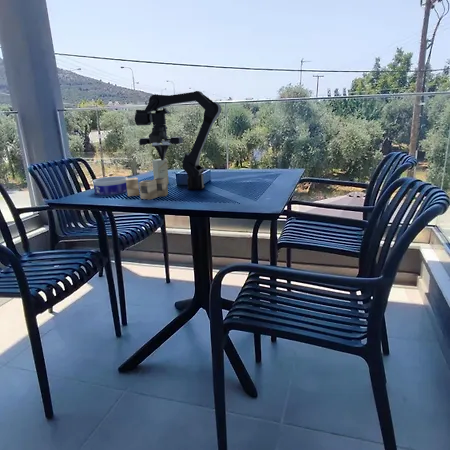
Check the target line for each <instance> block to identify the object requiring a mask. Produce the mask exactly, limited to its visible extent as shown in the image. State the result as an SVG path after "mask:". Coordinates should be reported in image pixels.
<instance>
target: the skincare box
mask: <svg viewBox="0 0 450 450" xmlns="http://www.w3.org/2000/svg"><path fill="white" fill-rule="evenodd" d="M151 162H152V163H151V164H152V173H153V179H155V178H167V185H168V184H170V180H169V168H168V159H167V158H164V160H161V158H158V159H153V160H152V159H151Z"/></svg>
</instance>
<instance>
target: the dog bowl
mask: <svg viewBox="0 0 450 450" xmlns="http://www.w3.org/2000/svg"><path fill="white" fill-rule="evenodd" d="M126 178H128V177H127V176H122V175H121V176H120V175H119V176H118V175H115V176H105V177H100V178H95V179H93V180H92V183H93V189H94V194H95V195H100V196H108V195H109V196H110V195H117V194H122V193H123V194H124V193H127V185H126Z"/></svg>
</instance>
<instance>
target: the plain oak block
mask: <svg viewBox="0 0 450 450" xmlns="http://www.w3.org/2000/svg"><path fill="white" fill-rule="evenodd" d="M126 185H127V191H126V193H127V197H133V196H134V197H136V196H140V188H139V179H138V177H127V178H126Z"/></svg>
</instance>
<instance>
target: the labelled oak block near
mask: <svg viewBox="0 0 450 450" xmlns="http://www.w3.org/2000/svg"><path fill="white" fill-rule="evenodd" d="M138 185H139V193H140V195H139V197H140V199H141V200H153V199H156V198H158V197H159V196H158V193H157V183H156V180H153V179H145V180H142V181H138Z"/></svg>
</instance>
